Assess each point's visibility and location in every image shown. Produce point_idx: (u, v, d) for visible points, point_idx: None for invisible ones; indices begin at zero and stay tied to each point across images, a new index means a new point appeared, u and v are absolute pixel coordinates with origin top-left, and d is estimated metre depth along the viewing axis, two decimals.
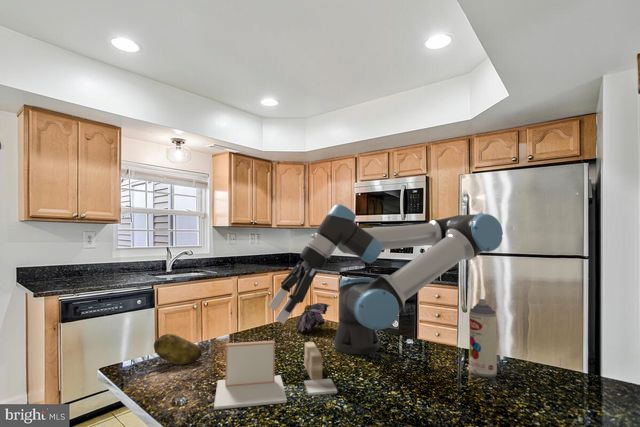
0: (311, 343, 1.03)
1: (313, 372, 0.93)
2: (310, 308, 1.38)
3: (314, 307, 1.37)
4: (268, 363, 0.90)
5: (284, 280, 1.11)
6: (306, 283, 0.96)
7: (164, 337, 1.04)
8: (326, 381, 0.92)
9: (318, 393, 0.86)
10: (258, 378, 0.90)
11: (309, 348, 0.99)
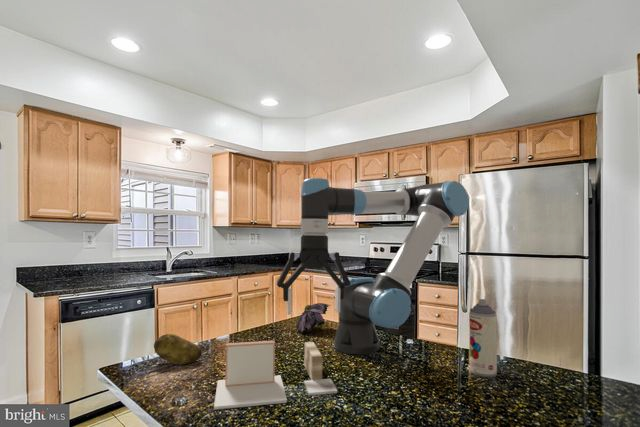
0: (311, 343, 1.03)
1: (313, 372, 0.93)
2: (310, 308, 1.38)
3: (314, 307, 1.37)
4: (268, 363, 0.90)
5: (283, 281, 0.96)
6: None
7: (164, 337, 1.04)
8: (326, 381, 0.92)
9: (318, 393, 0.86)
10: (258, 378, 0.90)
11: (309, 348, 0.99)
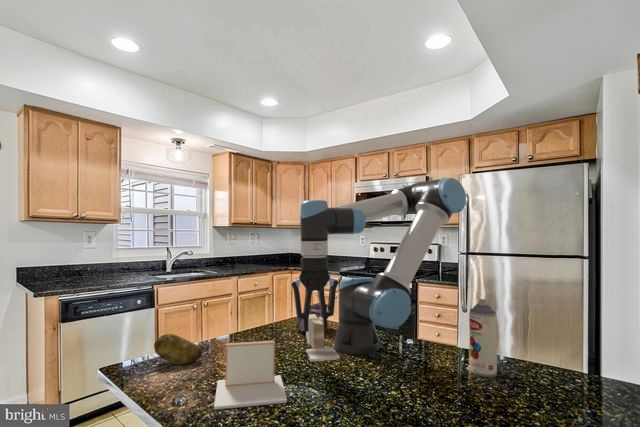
0: (313, 315, 1.04)
1: (315, 341, 0.93)
2: (310, 308, 1.38)
3: (314, 307, 1.37)
4: (268, 363, 0.90)
5: (300, 310, 0.96)
6: None
7: (164, 337, 1.04)
8: (328, 349, 0.92)
9: (320, 359, 0.86)
10: (258, 378, 0.90)
11: (311, 319, 1.00)
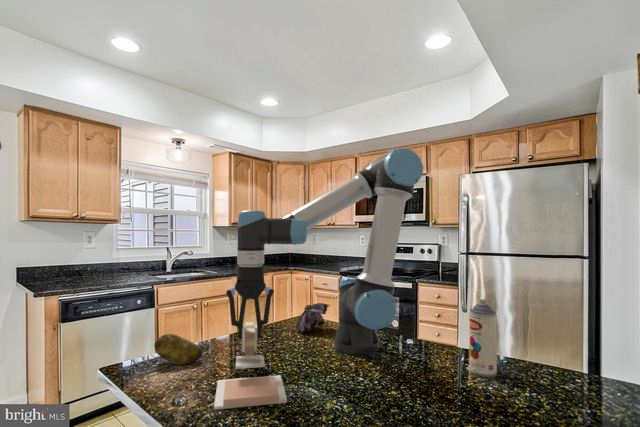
0: (251, 322, 1.06)
1: (246, 348, 0.95)
2: (310, 308, 1.38)
3: (314, 307, 1.37)
4: None
5: (234, 318, 0.99)
6: None
7: (165, 337, 1.04)
8: (257, 357, 0.94)
9: (245, 367, 0.88)
10: None
11: (246, 326, 1.02)
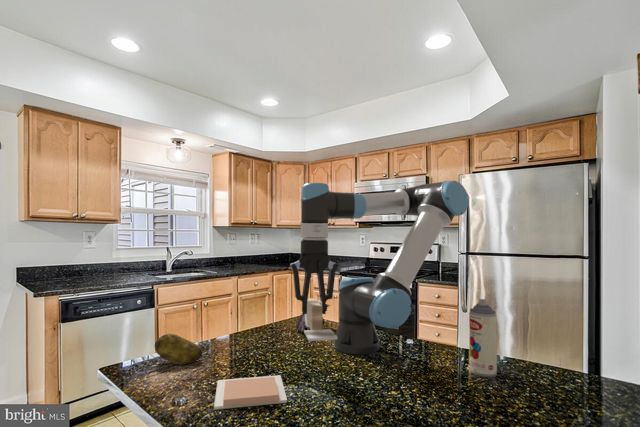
0: (311, 298, 1.04)
1: (313, 322, 0.93)
2: None
3: None
4: None
5: (299, 292, 0.96)
6: None
7: (165, 337, 1.04)
8: (326, 330, 0.92)
9: (318, 339, 0.86)
10: None
11: (309, 301, 1.00)
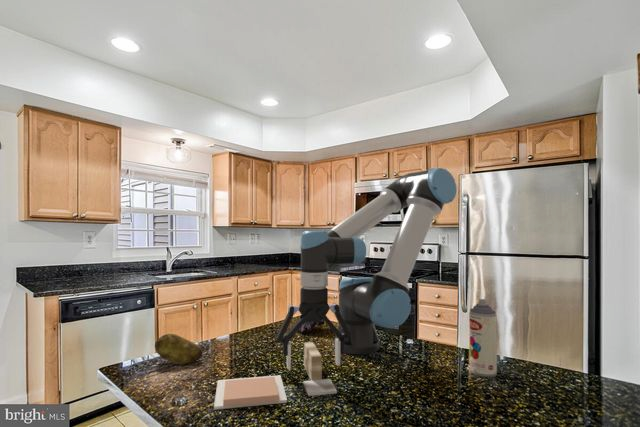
0: (311, 343, 1.03)
1: (313, 372, 0.92)
2: None
3: None
4: None
5: (282, 335, 0.95)
6: None
7: (165, 337, 1.04)
8: (325, 381, 0.92)
9: (318, 393, 0.85)
10: None
11: (309, 348, 0.99)
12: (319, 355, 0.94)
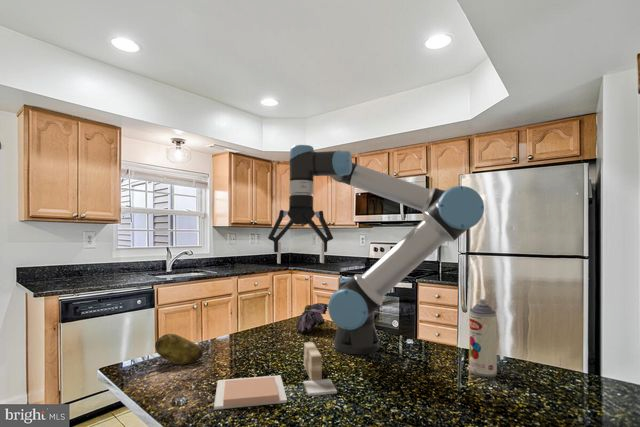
0: (311, 343, 1.03)
1: (313, 372, 0.92)
2: (310, 308, 1.38)
3: (314, 307, 1.37)
4: None
5: (273, 234, 1.10)
6: None
7: (165, 337, 1.04)
8: (325, 381, 0.92)
9: (318, 393, 0.85)
10: None
11: (309, 348, 0.99)
12: (319, 355, 0.94)
